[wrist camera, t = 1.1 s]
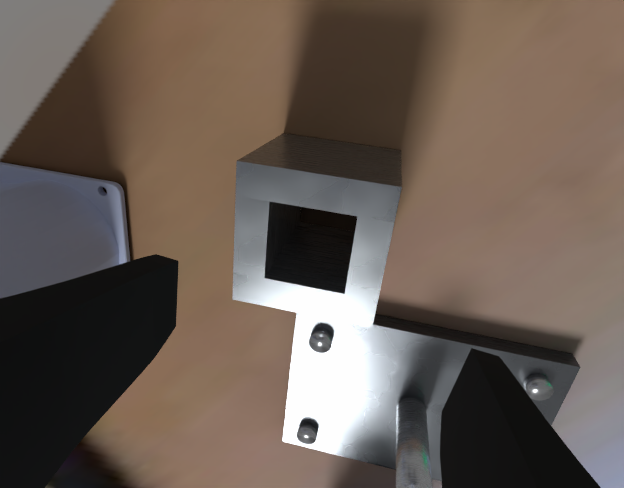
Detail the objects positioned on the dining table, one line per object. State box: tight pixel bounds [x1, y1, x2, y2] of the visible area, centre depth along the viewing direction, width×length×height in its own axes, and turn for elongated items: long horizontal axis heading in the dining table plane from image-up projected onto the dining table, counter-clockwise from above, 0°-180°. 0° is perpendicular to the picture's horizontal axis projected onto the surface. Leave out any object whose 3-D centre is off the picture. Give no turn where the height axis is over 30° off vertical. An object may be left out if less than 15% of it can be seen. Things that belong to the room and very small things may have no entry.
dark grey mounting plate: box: [282, 313, 580, 488], centre depth 21 cm, size 14×10×6 cm
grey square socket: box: [233, 133, 402, 328], centre depth 17 cm, size 5×5×6 cm
